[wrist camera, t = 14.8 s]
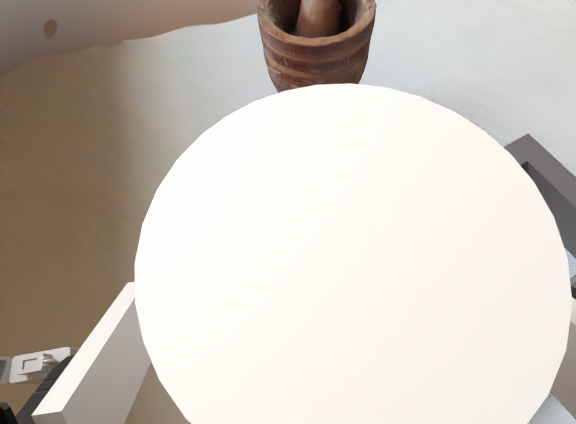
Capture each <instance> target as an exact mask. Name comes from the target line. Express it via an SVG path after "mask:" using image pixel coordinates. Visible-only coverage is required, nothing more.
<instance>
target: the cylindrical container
mask: <svg viewBox="0 0 576 424" xmlns="http://www.w3.org/2000/svg"><path fill="white" fill-rule="evenodd" d="M135 305H136V309H137V314H138V319H139V324H140V329H141V334H142V338H143V342H144V345H145V347H146V349H147V352H148V354H149V357H150V359H151V361H152V364H153V366H154V368H155V371H156V373H157V375H158V378H159V380H160V382H161V383H162V384H163V386H164V387H165V389H166V390H167V392H168V393H169V395H170V396H171V397H172V399H173V400H174V402H175V403H176V405H177V406H178V408H179V409H180V410H181V412H182V413H183V415H184V416H185V418H186V419H187V420H188V421H189V422H190V423H191V424H528V422H529V421H530V419H531V418H532V417H533V415H534V414H535V413H536V411H537V410H538V408H539V407H540V406H541V404H542V403H543V402H544V400H545V399H546V397H547V396H548V395H549V392H550V390H551V387H552V385H553V382H554V379H555V377H556V374H557V372H558V369H559V367H560V364H561V362H562V359H563V357H564V354H565V352H566V348H567V340H568V333H569V325H570V317H571V309H572V294H571V285H570V276H569V267H568V258H567V254H566V251H565V248H564V246H563V243H562V240H561V237H560V234H559V231H558V228H557V225H556V222H555V219H554V216H553V214H552V213H551V211H550V209H549V207H548V206H547V204H546V202H545V200H544V199H543V197H542V195H541V193H540V192H539V190H538V188H537V186H536V185H535V183H534V181H533V180H532V179H531V178H530V177H529V175H528V174H527V173H526V172H525V171H524V169H523V168H522V167H521V166H520V165H519V163H518V162H517V161H516V160H515V158H514V157H513V156H512V155H511V154H510V153H509V152H508V151H507V150H506V149H504V148H503V147H502V146H501V145H500V144H499V143H498V142H497V141H495V140H494V139H493V138H492V137H491V136H490V135H489V134H487V133H486V132H485V131H484V130H482V129H481V128H479V127H478V126H476V125H475V124H473V123H471V122H470V121H468V120H467V119H465V118H464V117H462V116H460V115H459V114H457V113H456V112H454V111H452V110H450V109H448V108H445V107H443V106H441V105H438V104H436V103H434V102H432V101H429V100H427V99H425V98H423V97H420V96H416V95H413V94H409V93H405V92H401V91H398V90H394V89H390V88H386V87H379V86H369V85H360V84H351V83H348V84H324V85H313V86H307V87H302V88H297V89H292V90H287V91H283V92H280V93H277V94H274V95H271V96H268V97H265V98H263V99H260V100H257V101H254V102H252V103H250V104H248V105H247V106H245V107H243V108H241V109H239V110H237V111H235V112H233V113H231V114H229V115H227V116H226V117H225V118H223V119H222V120H221V121H219V122H218V123H217V124H215V125H214V126H212V127H211V128H210V129H208V130H207V131H206V132H204V133H203V134H202V135H201V136H200V137H199V138H198V139H197V140H196V141H195V142H194V143H193V144H192V145H191V146H190V147H189V148H188V149H187V150H186V151H185V152H184V153H183V154H182V155H181V156H180V157H179V158H178V159H177V161H176V162H175V164H174V165H173V167H172V168H171V170H170V171H169V173H168V174H167V176H166V177H165V179H164V180H163V182H162V183H161V185H160V186H159V188H158V189H157V191H156V193H155V196H154V198H153V201H152V203H151V205H150V208H149V210H148V213H147V215H146V217H145V220H144V222H143V225H142V229H141V235H140V240H139V245H138V250H137V255H136V260H135Z"/></svg>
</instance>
